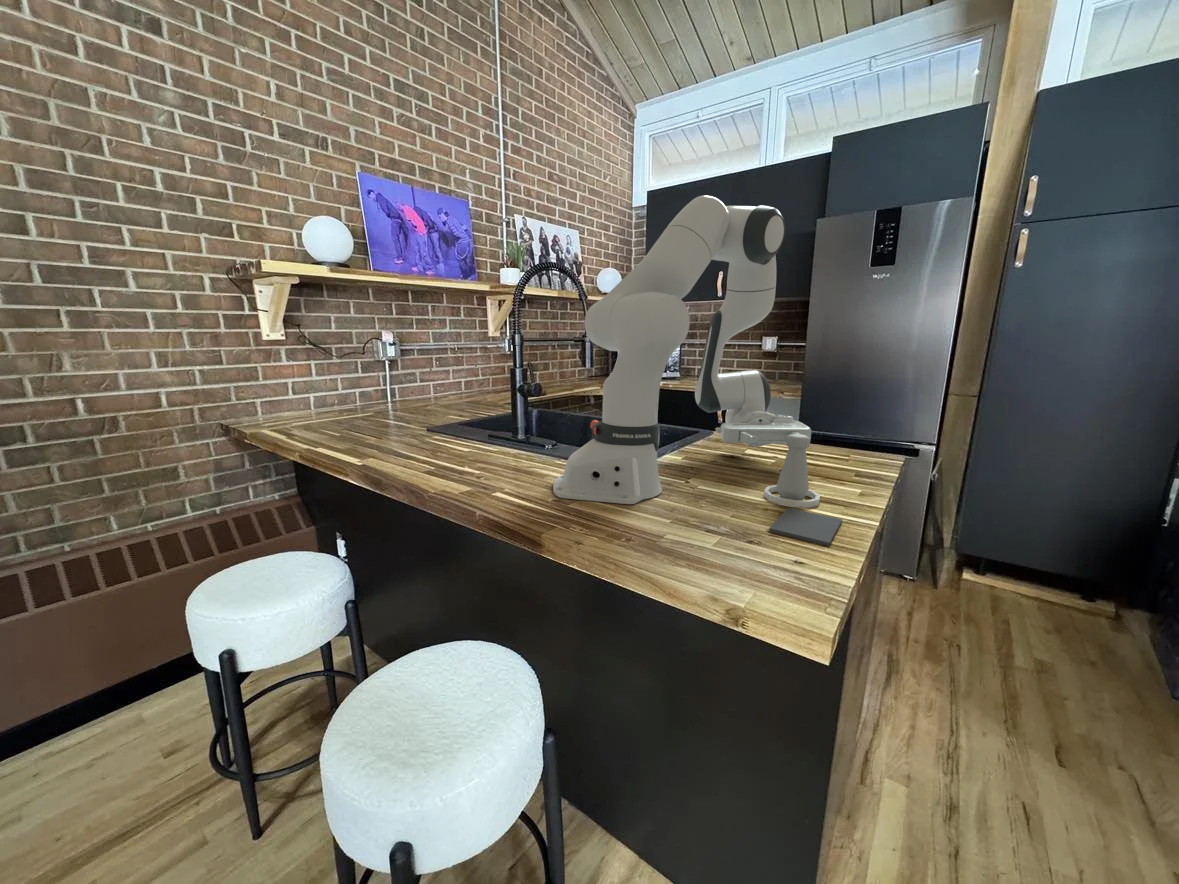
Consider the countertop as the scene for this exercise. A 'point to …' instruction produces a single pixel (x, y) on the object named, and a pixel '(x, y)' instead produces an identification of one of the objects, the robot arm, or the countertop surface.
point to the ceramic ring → (792, 503)
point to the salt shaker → (794, 469)
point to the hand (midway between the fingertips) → (775, 440)
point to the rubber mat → (807, 526)
